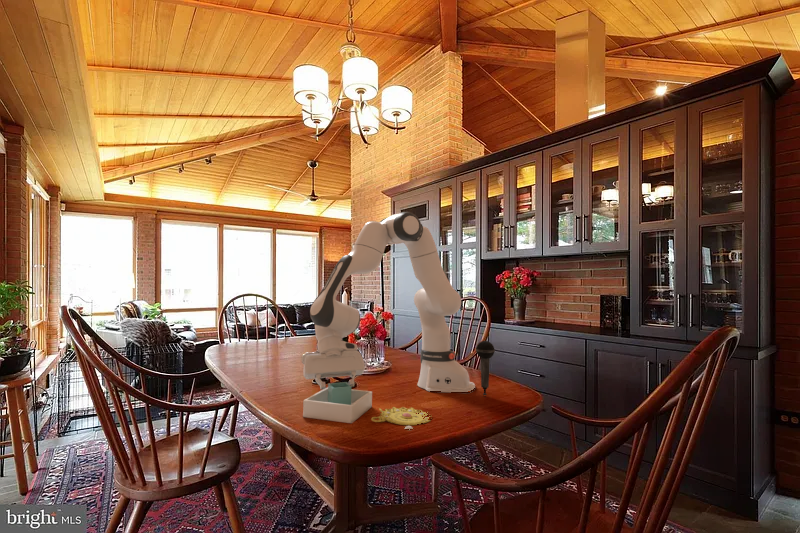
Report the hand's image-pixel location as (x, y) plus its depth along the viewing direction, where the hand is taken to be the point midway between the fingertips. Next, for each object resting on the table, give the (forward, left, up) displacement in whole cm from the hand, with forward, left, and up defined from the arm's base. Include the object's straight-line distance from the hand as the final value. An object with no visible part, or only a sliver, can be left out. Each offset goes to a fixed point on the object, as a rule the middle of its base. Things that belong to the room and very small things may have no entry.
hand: (337, 387), depth 130 cm
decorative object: (-21, 0, -8) cm, 23 cm away
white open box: (-1, +2, -7) cm, 7 cm away
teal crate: (-2, +2, -6) cm, 7 cm away
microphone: (-43, -31, -7) cm, 54 cm away
